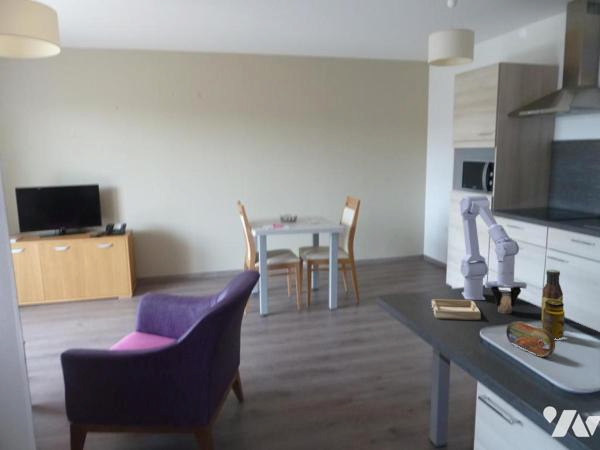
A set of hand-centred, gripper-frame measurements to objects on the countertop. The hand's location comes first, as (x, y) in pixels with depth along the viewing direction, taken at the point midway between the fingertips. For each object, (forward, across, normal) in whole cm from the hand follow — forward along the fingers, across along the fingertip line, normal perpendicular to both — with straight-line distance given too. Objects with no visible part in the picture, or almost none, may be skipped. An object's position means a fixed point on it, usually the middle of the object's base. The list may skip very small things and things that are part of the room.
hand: (504, 305), depth 165 cm
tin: (+3, -2, -35) cm, 35 cm away
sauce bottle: (+3, +12, -13) cm, 18 cm away
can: (+2, 0, 0) cm, 2 cm away
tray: (+2, -19, -3) cm, 19 cm away
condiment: (+3, +8, -23) cm, 25 cm away
